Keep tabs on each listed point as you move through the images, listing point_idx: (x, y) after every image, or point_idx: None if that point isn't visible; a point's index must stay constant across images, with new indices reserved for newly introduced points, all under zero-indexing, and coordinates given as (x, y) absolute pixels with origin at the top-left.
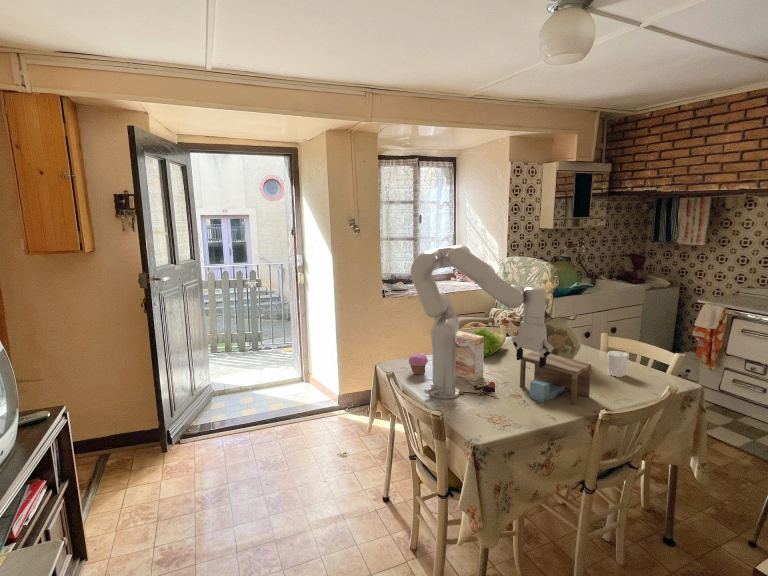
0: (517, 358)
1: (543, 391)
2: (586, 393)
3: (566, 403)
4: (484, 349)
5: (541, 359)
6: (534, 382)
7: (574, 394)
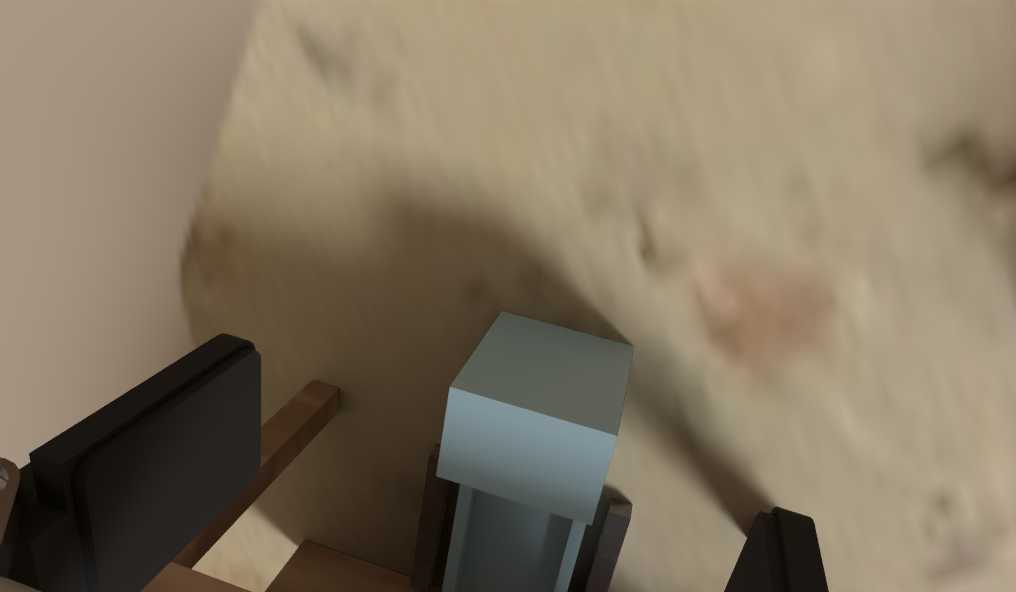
0: (790, 535)
1: (475, 358)
2: (303, 560)
3: (364, 384)
4: None
5: (86, 433)
6: (568, 427)
7: (266, 427)
